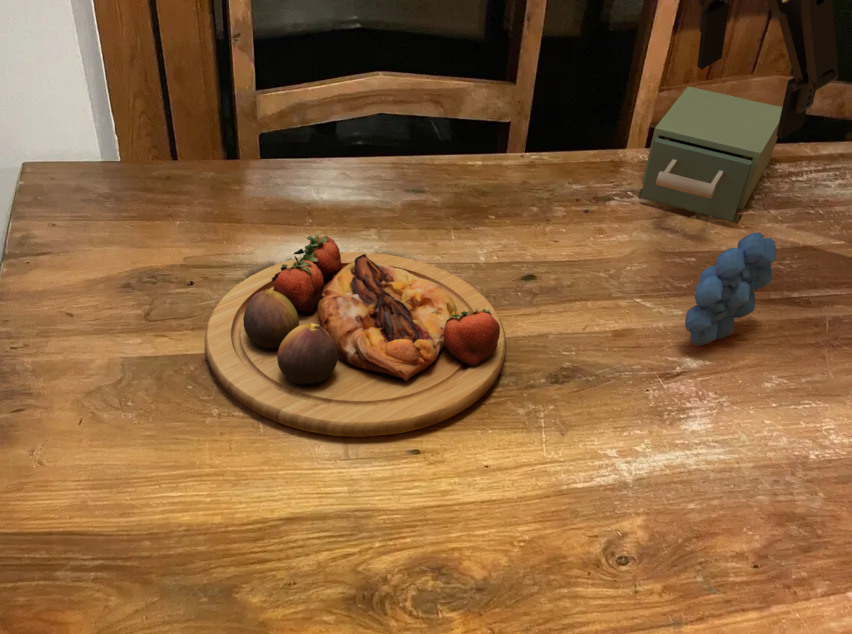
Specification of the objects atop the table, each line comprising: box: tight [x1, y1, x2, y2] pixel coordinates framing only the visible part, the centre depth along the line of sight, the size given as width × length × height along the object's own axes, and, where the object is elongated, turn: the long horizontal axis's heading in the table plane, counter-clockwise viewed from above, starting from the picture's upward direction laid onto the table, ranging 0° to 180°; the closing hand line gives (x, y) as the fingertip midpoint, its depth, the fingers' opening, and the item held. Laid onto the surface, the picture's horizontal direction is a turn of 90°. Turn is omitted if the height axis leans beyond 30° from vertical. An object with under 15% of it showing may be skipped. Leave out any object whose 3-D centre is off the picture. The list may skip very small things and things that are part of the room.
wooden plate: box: [204, 234, 507, 437], centre depth 98 cm, size 32×32×8 cm
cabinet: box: [638, 86, 783, 224], centre depth 125 cm, size 16×14×9 cm
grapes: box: [684, 231, 778, 347], centre depth 100 cm, size 12×7×12 cm, turn 126°
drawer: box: [641, 137, 753, 222], centre depth 122 cm, size 21×12×7 cm, turn 153°
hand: (748, 95), depth 101 cm, fingers open, 13 cm apart
